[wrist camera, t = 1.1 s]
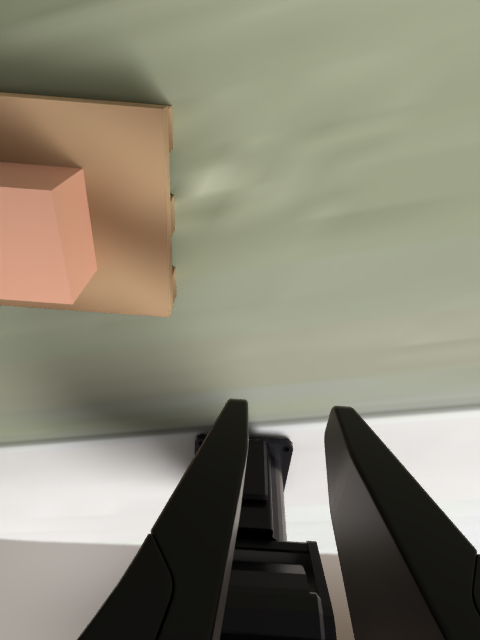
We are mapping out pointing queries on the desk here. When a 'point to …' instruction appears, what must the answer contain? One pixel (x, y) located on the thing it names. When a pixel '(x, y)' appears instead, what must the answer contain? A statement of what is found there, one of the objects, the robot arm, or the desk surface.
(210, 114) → the desk surface
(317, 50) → the desk surface
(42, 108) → the pallet
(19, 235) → the salmon pink block
